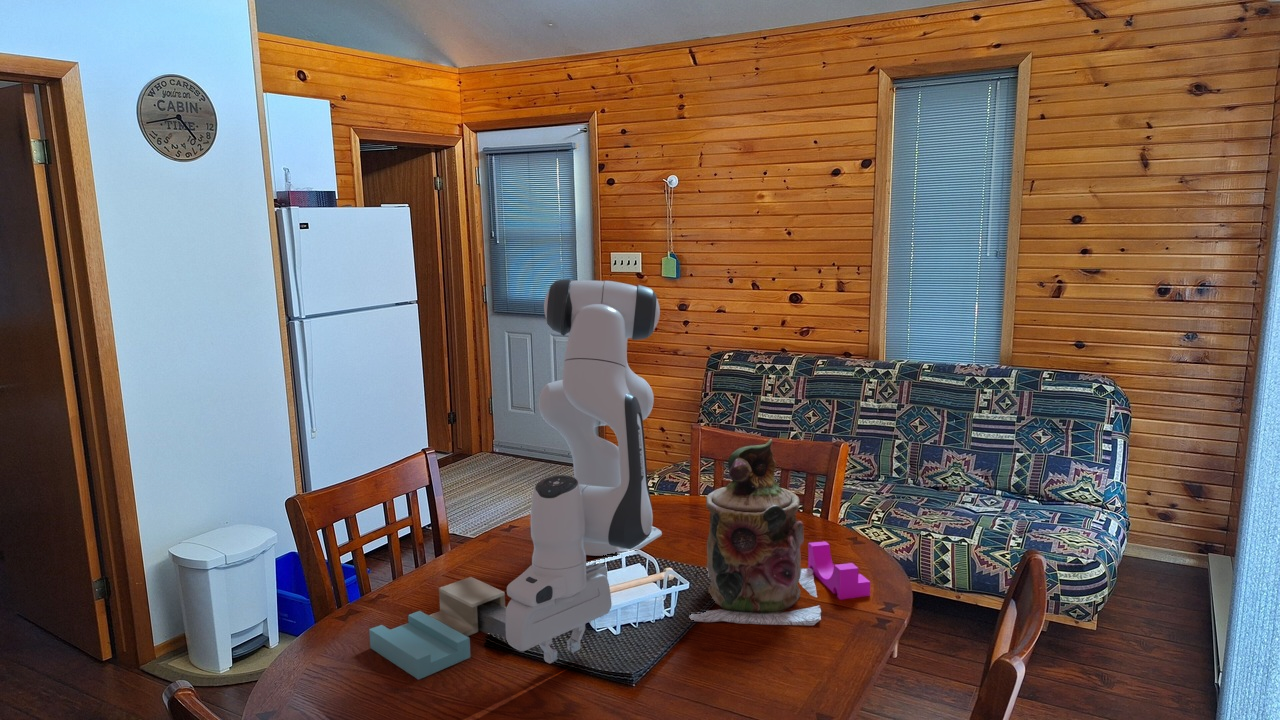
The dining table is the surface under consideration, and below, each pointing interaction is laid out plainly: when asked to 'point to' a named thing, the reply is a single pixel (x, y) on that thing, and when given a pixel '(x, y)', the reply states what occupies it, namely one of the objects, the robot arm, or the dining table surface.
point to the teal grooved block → (420, 645)
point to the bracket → (465, 604)
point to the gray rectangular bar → (491, 618)
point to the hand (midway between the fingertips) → (562, 655)
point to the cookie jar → (756, 546)
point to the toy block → (836, 573)
